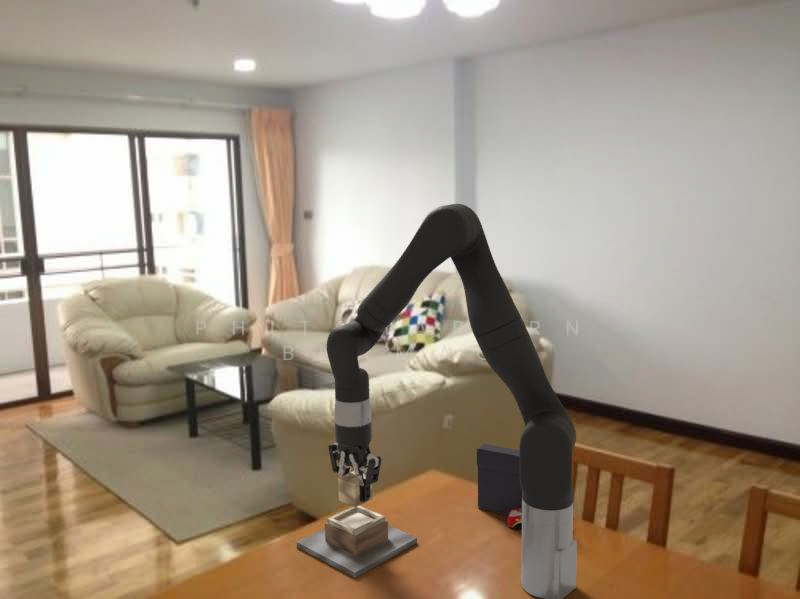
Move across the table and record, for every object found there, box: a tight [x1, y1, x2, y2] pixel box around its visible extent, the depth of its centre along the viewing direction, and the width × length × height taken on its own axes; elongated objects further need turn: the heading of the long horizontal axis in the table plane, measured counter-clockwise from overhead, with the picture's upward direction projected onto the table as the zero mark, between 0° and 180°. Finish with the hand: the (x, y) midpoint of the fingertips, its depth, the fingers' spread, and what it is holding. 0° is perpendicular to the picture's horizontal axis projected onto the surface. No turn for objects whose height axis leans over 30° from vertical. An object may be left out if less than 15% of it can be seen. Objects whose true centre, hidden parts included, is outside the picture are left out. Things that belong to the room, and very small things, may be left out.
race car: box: [506, 508, 522, 531], centre depth 153 cm, size 13×5×4 cm, turn 75°
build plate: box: [296, 505, 418, 579], centre depth 147 cm, size 18×18×6 cm
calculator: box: [476, 443, 522, 516], centre depth 160 cm, size 11×4×15 cm, turn 59°
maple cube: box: [337, 470, 374, 507], centre depth 145 cm, size 5×5×5 cm
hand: (355, 496), depth 145 cm, fingers closed on maple cube, 5 cm apart
